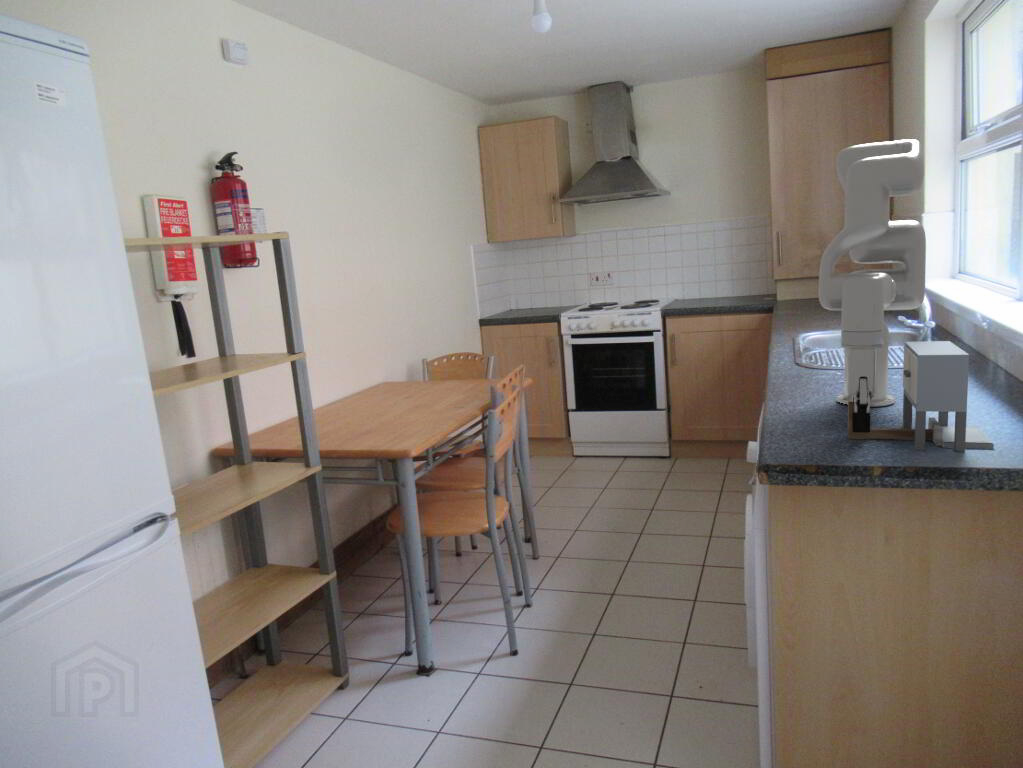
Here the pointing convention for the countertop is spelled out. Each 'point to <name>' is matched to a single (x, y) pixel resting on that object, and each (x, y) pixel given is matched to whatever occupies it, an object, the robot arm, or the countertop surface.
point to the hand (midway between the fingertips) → (860, 429)
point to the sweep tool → (896, 431)
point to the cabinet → (935, 387)
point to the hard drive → (967, 438)
